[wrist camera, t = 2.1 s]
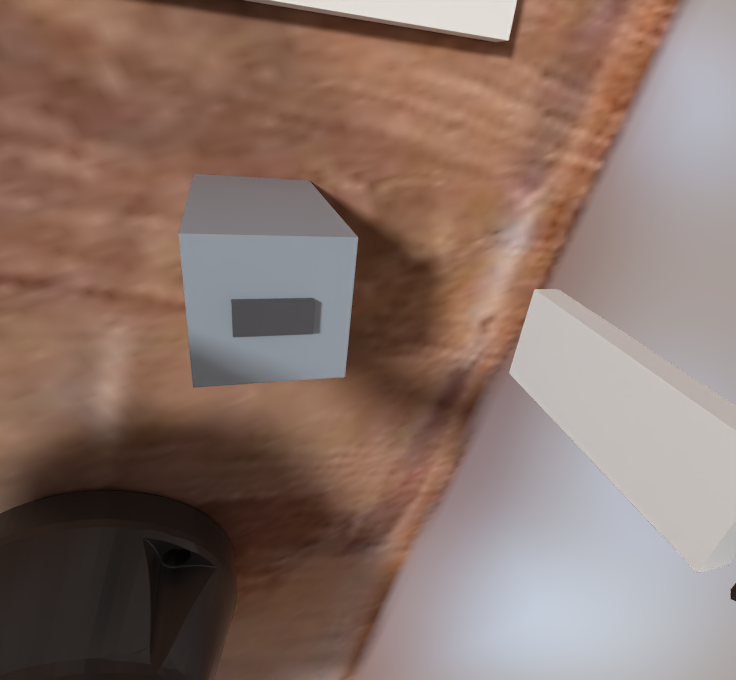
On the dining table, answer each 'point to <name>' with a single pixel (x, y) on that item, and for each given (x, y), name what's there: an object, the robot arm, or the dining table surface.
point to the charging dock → (421, 14)
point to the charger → (265, 281)
